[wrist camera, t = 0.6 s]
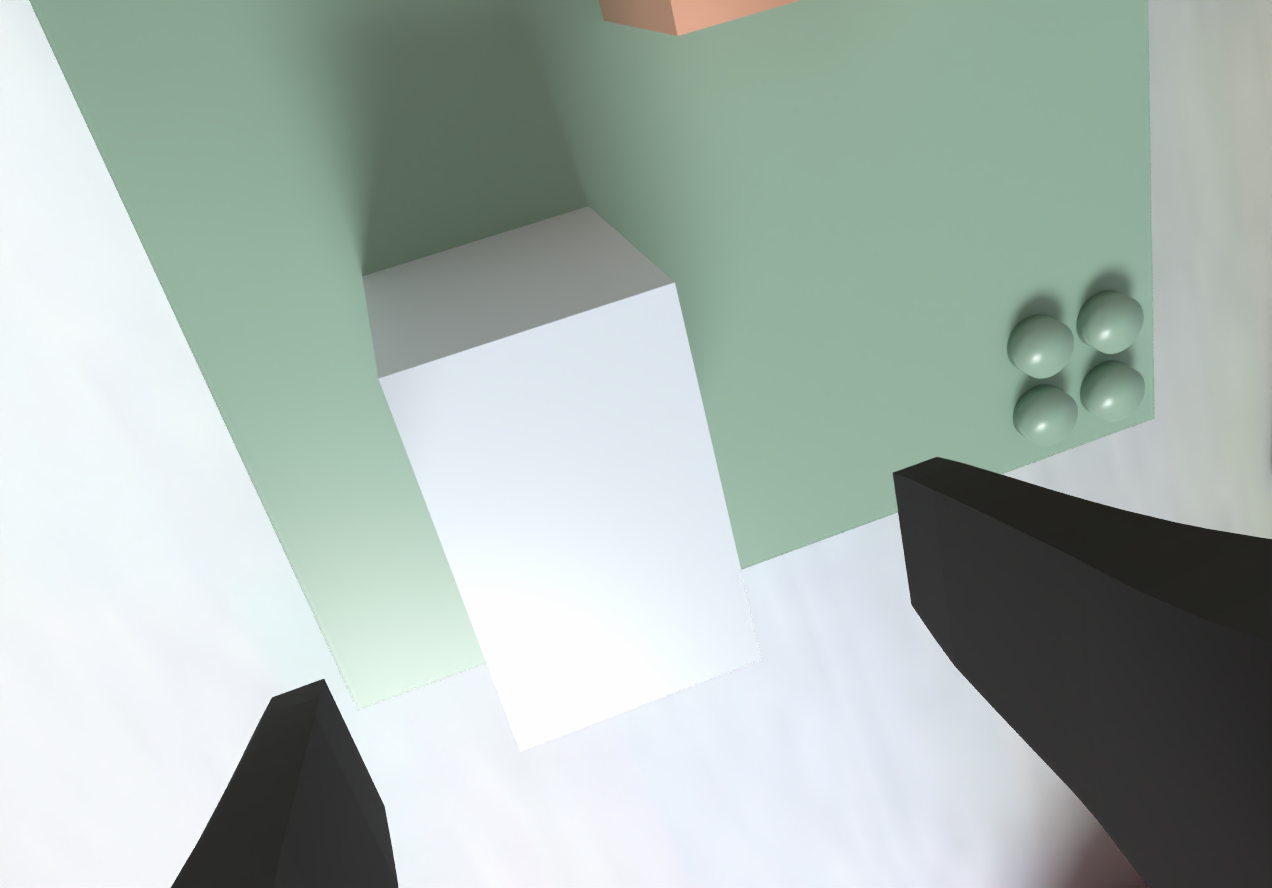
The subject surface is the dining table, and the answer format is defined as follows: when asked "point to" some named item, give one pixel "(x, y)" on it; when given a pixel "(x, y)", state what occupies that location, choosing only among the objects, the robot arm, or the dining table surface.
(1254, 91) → the dining table surface
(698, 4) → the terracotta brick
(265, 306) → the building board
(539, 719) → the white brick
